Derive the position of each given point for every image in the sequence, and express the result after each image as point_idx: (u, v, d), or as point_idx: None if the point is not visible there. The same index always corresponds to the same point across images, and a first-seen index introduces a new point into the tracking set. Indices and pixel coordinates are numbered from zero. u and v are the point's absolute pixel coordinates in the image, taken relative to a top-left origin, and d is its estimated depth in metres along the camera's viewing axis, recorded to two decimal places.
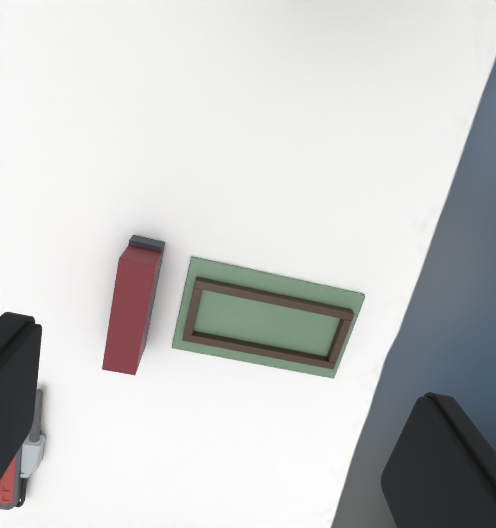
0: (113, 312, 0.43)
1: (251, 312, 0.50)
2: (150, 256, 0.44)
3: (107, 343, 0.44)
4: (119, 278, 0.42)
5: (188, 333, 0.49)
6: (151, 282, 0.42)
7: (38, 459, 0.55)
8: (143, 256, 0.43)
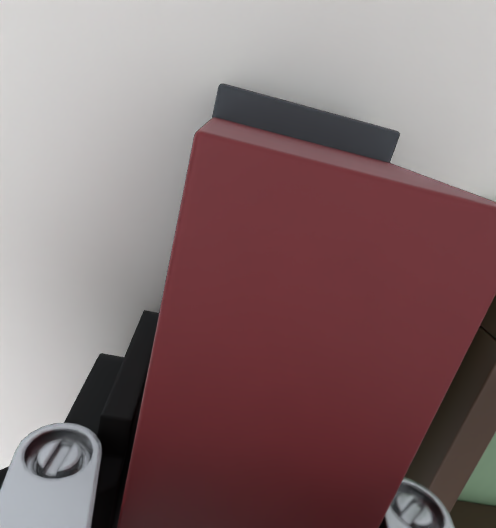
0: None
1: None
2: (381, 165, 0.06)
3: None
4: (188, 330, 0.05)
5: None
6: (454, 360, 0.05)
7: None
8: (348, 158, 0.06)
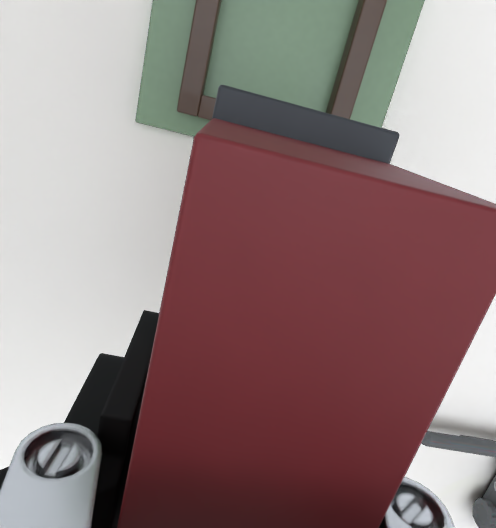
0: None
1: None
2: (381, 166, 0.06)
3: None
4: (188, 331, 0.05)
5: None
6: (453, 361, 0.05)
7: None
8: (348, 159, 0.06)
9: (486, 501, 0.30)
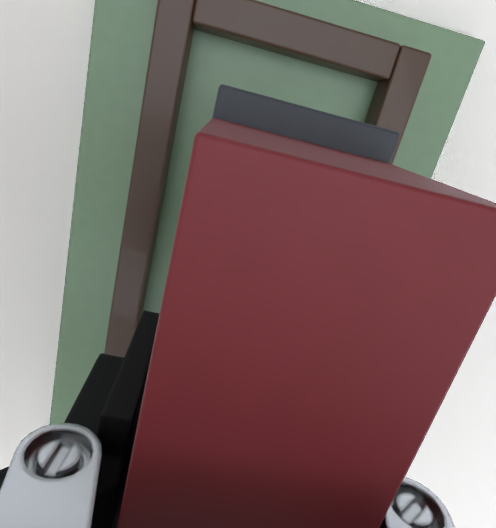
0: None
1: None
2: (382, 166, 0.06)
3: None
4: (188, 331, 0.05)
5: None
6: (454, 361, 0.05)
7: None
8: (348, 159, 0.06)
9: None
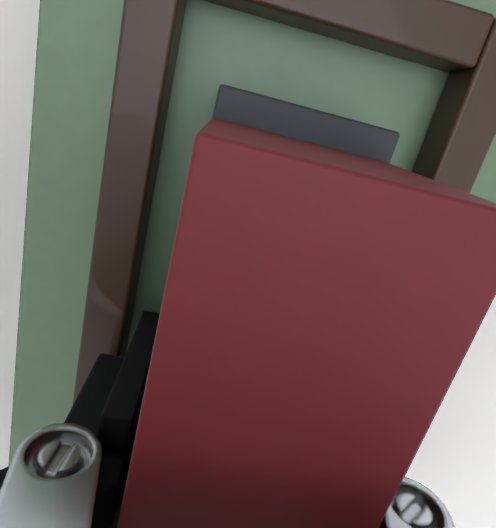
0: None
1: None
2: (381, 166, 0.06)
3: None
4: (188, 330, 0.05)
5: None
6: (454, 361, 0.05)
7: None
8: (348, 159, 0.06)
9: None
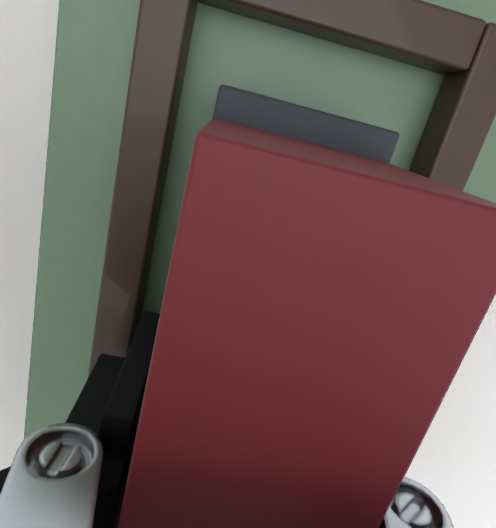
0: None
1: None
2: (381, 166, 0.06)
3: None
4: (189, 330, 0.05)
5: None
6: (454, 360, 0.05)
7: None
8: (348, 159, 0.06)
9: None
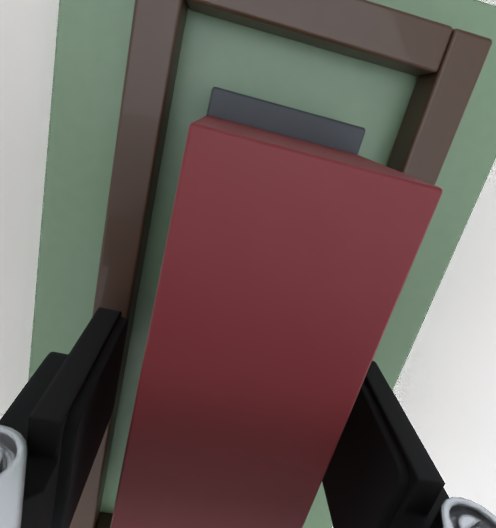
0: (137, 474, 0.07)
1: None
2: (343, 154, 0.08)
3: None
4: (184, 275, 0.06)
5: None
6: (390, 302, 0.06)
7: None
8: (314, 147, 0.07)
9: None
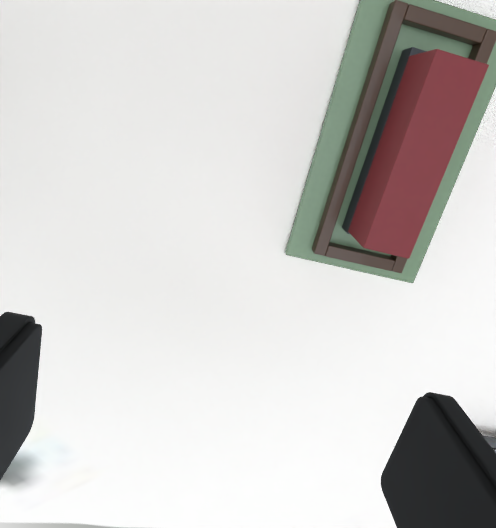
0: (404, 148, 0.28)
1: None
2: None
3: (382, 203, 0.29)
4: (428, 86, 0.26)
5: (391, 265, 0.36)
6: (475, 95, 0.27)
7: None
8: None
9: None
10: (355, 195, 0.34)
